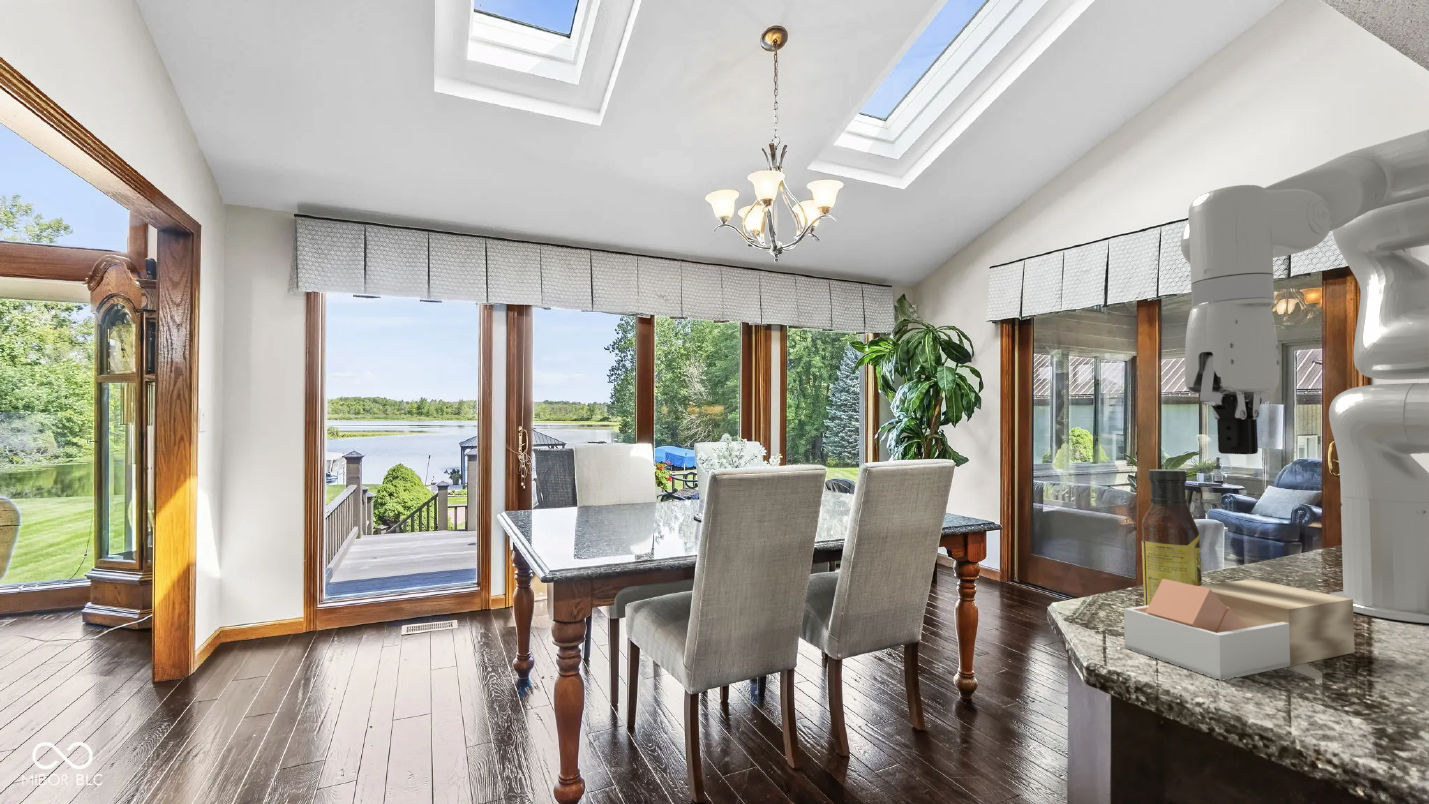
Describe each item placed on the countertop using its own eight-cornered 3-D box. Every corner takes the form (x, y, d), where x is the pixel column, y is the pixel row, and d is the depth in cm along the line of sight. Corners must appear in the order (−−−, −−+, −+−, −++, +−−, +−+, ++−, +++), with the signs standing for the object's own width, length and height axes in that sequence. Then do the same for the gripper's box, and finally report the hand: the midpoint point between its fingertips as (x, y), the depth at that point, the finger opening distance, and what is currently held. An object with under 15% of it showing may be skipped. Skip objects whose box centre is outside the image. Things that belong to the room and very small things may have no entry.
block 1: (1179, 596, 73) (1162, 578, 72) (1227, 608, 69) (1210, 588, 68) (1162, 629, 72) (1145, 611, 71) (1210, 643, 67) (1192, 624, 67)
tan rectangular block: (1253, 626, 82) (1252, 579, 82) (1354, 652, 72) (1353, 599, 73) (1191, 636, 77) (1190, 587, 78) (1290, 666, 68) (1288, 609, 68)
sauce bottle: (1214, 632, 79) (1210, 472, 80) (1157, 629, 80) (1154, 471, 81) (1186, 617, 85) (1183, 468, 86) (1134, 614, 87) (1132, 467, 87)
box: (1191, 636, 77) (1190, 599, 77) (1290, 666, 68) (1289, 623, 68) (1124, 648, 73) (1123, 608, 73) (1220, 680, 64) (1219, 635, 64)
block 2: (1181, 595, 73) (1168, 620, 72) (1229, 607, 69) (1215, 634, 68) (1202, 618, 74) (1189, 643, 73) (1250, 631, 70) (1237, 658, 69)
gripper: (1236, 304, 81) (1242, 450, 80) (1155, 299, 75) (1161, 454, 75) (1309, 293, 74) (1316, 452, 73) (1225, 286, 68) (1232, 458, 68)
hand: (1237, 453), depth 74 cm, fingers closed
